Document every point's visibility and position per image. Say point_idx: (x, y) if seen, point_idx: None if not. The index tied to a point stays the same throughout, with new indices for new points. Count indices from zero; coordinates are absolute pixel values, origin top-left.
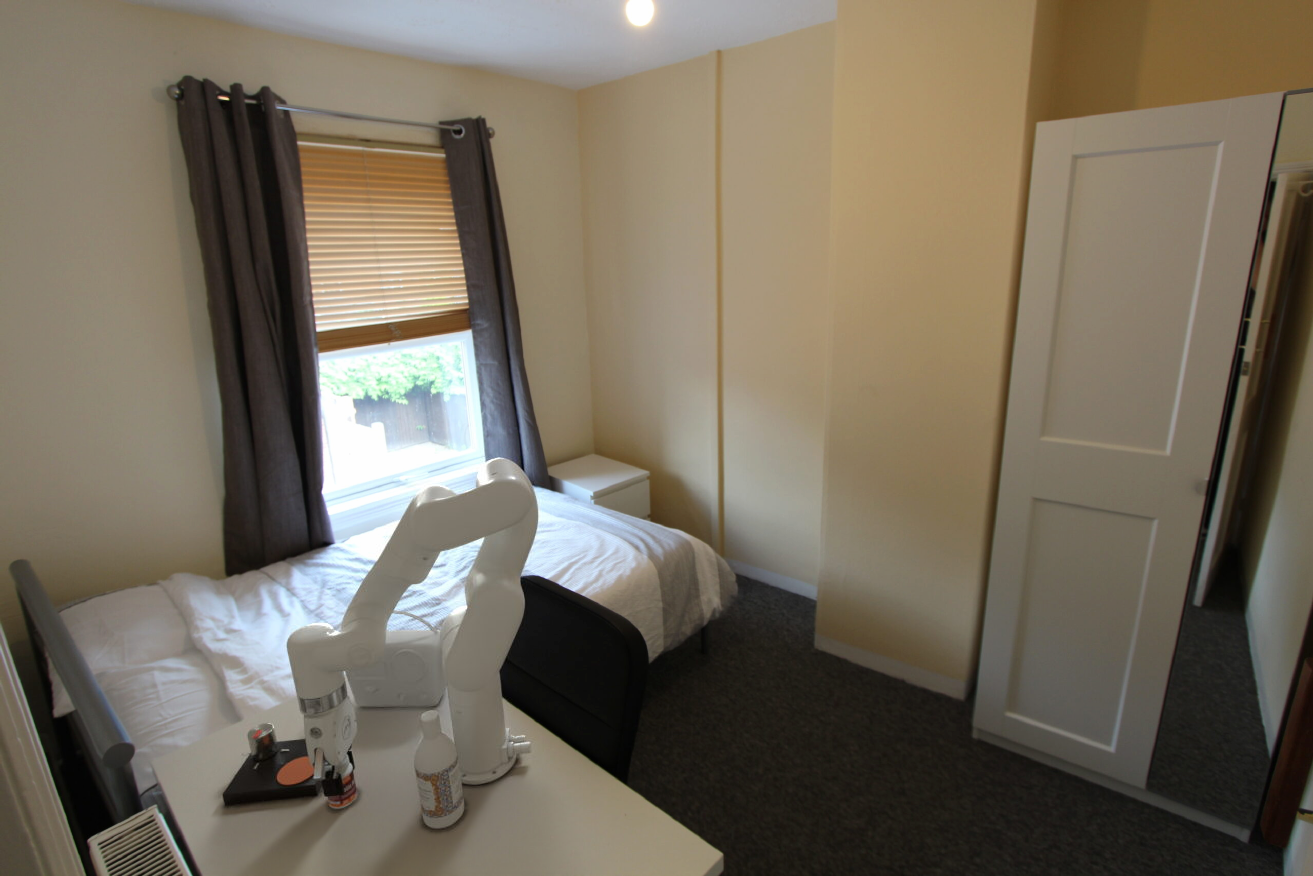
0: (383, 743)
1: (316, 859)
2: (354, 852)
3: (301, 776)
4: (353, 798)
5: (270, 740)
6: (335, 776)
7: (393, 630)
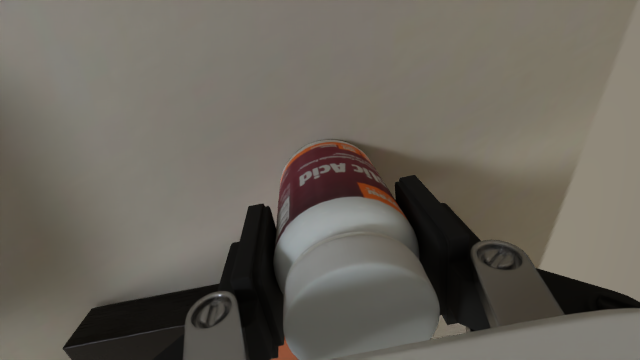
0: (16, 180)
1: (567, 137)
2: (582, 10)
3: (288, 352)
4: (341, 144)
5: None
6: (525, 257)
7: None
